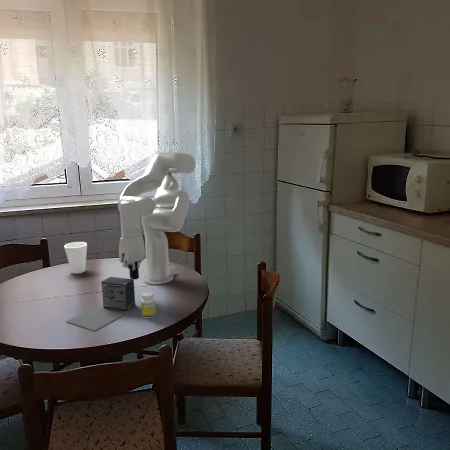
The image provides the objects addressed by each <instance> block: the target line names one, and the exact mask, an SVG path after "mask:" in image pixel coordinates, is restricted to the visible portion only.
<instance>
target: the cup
mask: <svg viewBox="0 0 450 450" xmlns="http://www.w3.org/2000/svg"><path fill="white" fill-rule="evenodd" d="M63 247H64V251H65V254H66V257H67V261H68V266H69V268H70V272H71V273H72V274H82V273H84V272H86V269H87V267H86V266H87V252H88V251H87V250H88V243H87V242H85V241H75V242H69V243H65V245H64V246H63ZM71 273H70V274H71Z"/></svg>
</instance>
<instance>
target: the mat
mask: <svg viewBox="0 0 450 450" xmlns="http://www.w3.org/2000/svg"><path fill="white" fill-rule="evenodd" d="M124 316H125V314H124V313H120V312H116V311H114V310H111V309H108V308H103V307H99V306H95V307H93V308H90V309H88V310H86V311H85V312H82V313H81V314H78V315H75V316H74V317H72V318H70V319H68V320H65V321H66V323H67V324H71V325H74V326H77V327H80V328H84V329H86V330H89V331H93V332H96V331H99V330H100V329H101V328H104V327H105V326H107V325H109V324H111V323H113V322H114V321H117V320H118V319H121V318H122V317H124Z"/></svg>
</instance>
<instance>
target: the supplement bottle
mask: <svg viewBox="0 0 450 450" xmlns="http://www.w3.org/2000/svg"><path fill="white" fill-rule="evenodd" d="M155 301H156V300H155V298H154V292H152V291H144V292H142V294H141V300H140V303H141V315H142V317H143V318H144V319H152V318H154V317H156V302H155Z"/></svg>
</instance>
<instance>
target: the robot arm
mask: <svg viewBox="0 0 450 450" xmlns="http://www.w3.org/2000/svg"><path fill="white" fill-rule="evenodd" d="M195 160H196V159H195V158H194V156H193V155H191V154H188V153H187V154H186V153H181V152H165V151H164V152H156V153H155V154H153V155H152V157H151V159H150V161H149V163H148V165H147V166H146V169H145V171H144V173H143V174H142V175H141V176H139V177H138V178H136V179H134V180H133V181H132V182H130V183H129V184H127V185H126V187H125V188H124V189H123V191H122V193H121V194H120V196H119V199H118V202H117V208H118V212H119V219H120V234H121V237H120V238H119V244H118V257H119V259H118V260H119V263H121V264H122V268H127V269H128V270H129V279H134V281H135V280H138V279H140V274H139V273H140V265H141V263H142V262H143V261H144V260H146V263H145V264H146V275H145V276H144V277H143V282H144V283H146V284H149V285H164V284H167V283H170V282H171V281H172V280H173V279H174V275H173V274H171V273H172V271H174V270H176V266H175V265H171V266H170V265H169V264H170V263H169V241H168V238H167V235H166V233H165V232H169V233H170V232H171V233H175V232H176V233H178V231H180V230H181V229H182V227H183V224H184V223H185V219H186V216H187V215H188V211H189V207H190V195H189V194H188V192H186V191H185V190H181V189H180V190H179V187H180V186H179V183H178V181H177V179H176V177H175V176H174V175H173V174H180V175H181V174H187V175H189V174H192V173H193V172H194V170H195V168H196V161H195ZM155 190H156V191H155ZM153 191H155V193H154V196H153V198H152V197H149V196H141V195H142V194H146V193H149V192H153ZM142 230H143V233H142ZM143 234H144V236H143ZM173 281H174V280H173Z"/></svg>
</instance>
